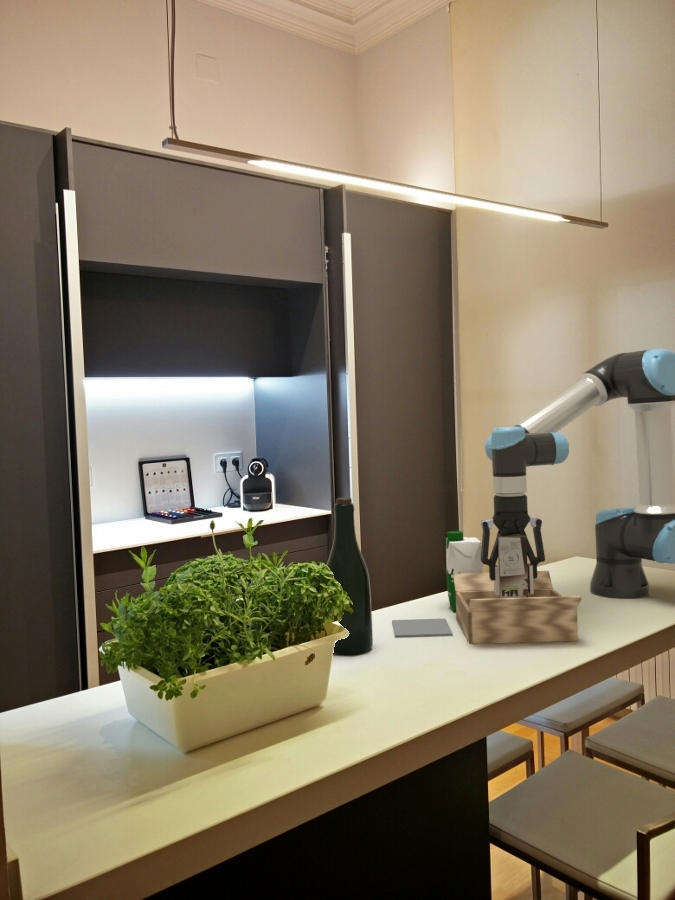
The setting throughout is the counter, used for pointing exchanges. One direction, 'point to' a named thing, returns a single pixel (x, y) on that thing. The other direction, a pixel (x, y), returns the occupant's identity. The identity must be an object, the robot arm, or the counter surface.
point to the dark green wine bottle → (351, 581)
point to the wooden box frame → (514, 612)
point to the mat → (421, 628)
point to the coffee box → (513, 566)
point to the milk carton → (461, 560)
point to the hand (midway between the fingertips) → (513, 593)
